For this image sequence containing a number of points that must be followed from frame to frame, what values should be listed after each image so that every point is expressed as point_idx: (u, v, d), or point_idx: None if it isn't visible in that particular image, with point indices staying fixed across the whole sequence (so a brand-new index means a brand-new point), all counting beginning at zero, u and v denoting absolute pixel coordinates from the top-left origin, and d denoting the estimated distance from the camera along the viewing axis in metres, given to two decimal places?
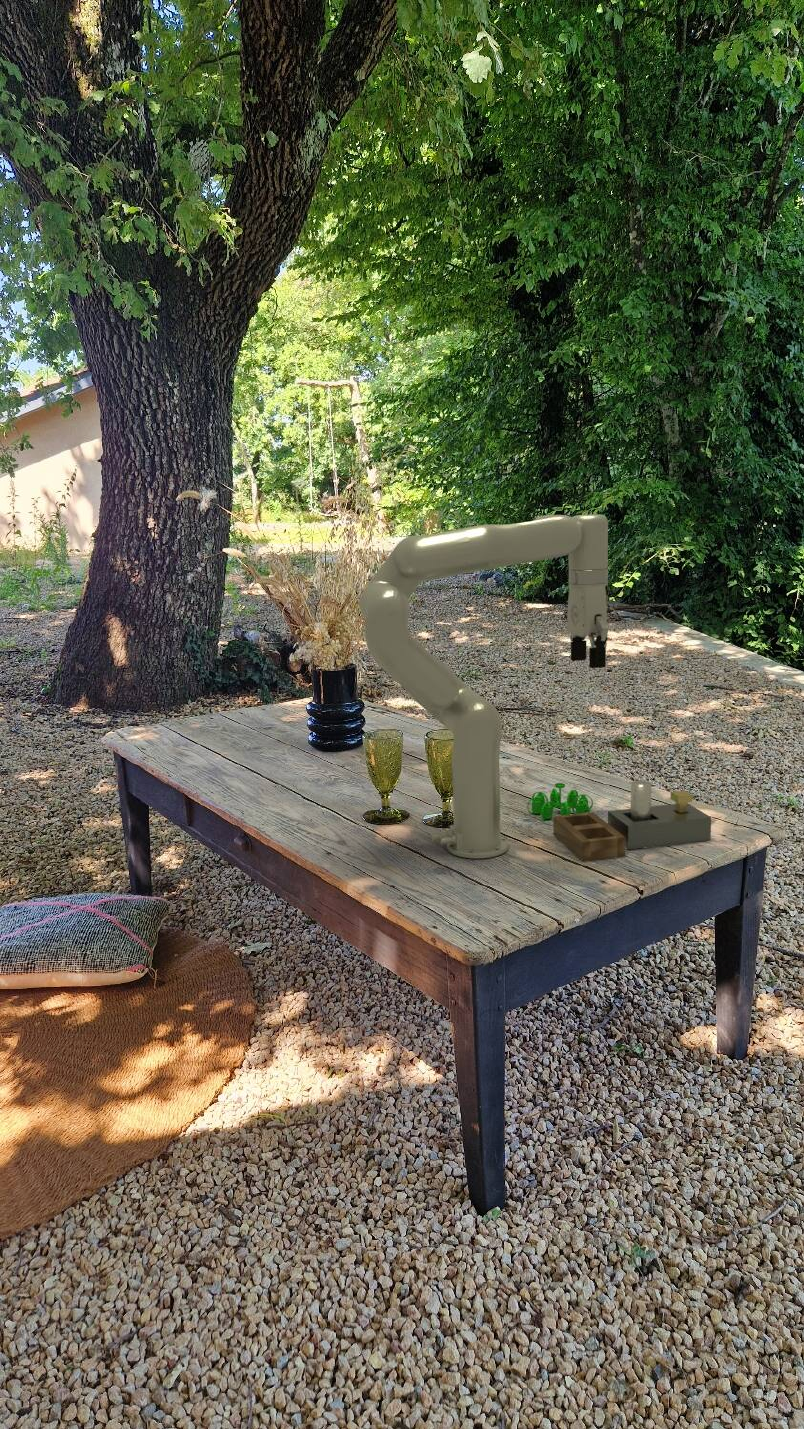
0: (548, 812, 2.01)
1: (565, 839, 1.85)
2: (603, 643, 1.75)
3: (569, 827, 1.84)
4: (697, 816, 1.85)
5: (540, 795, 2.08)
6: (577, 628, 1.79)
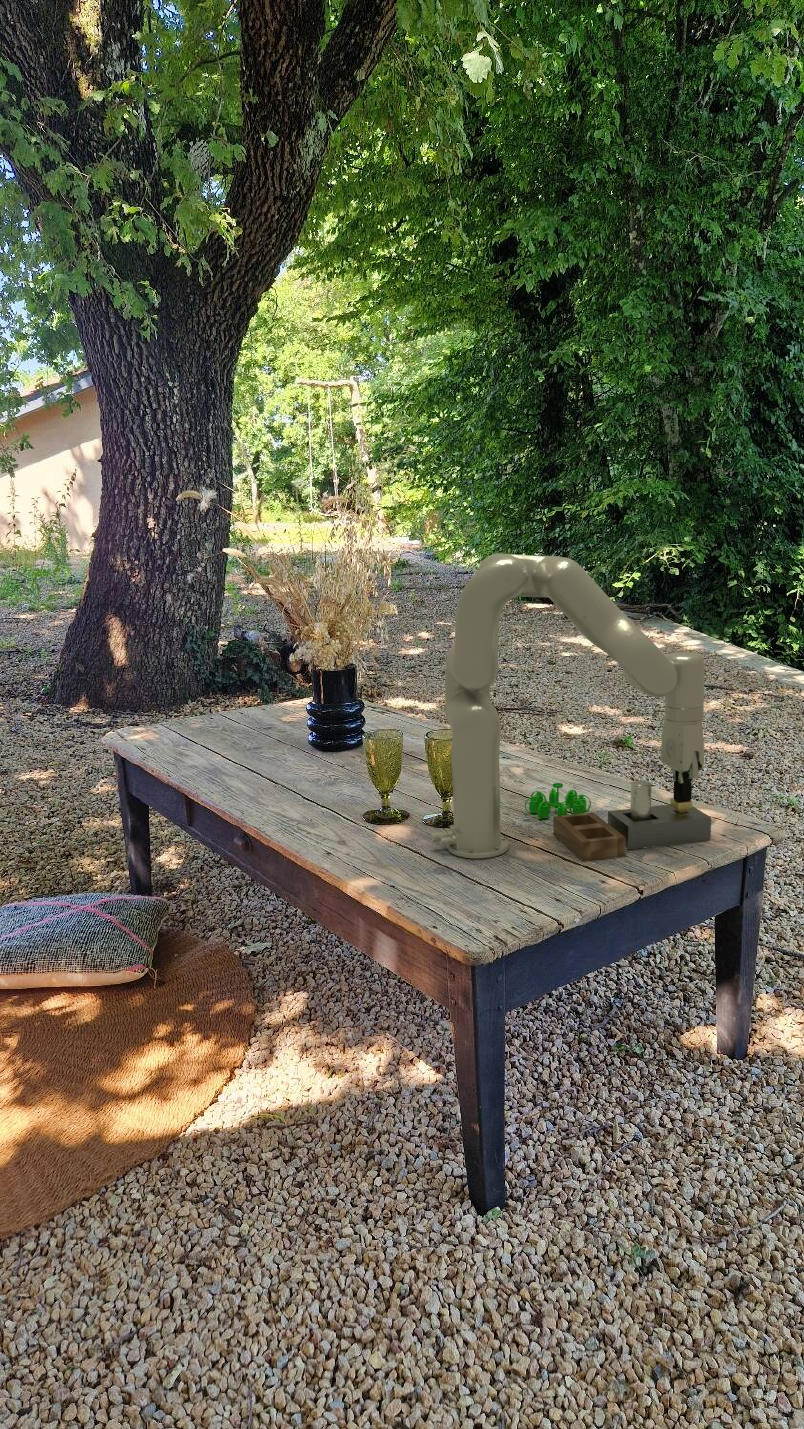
0: (544, 811, 2.01)
1: (565, 839, 1.85)
2: (690, 779, 1.84)
3: (569, 827, 1.84)
4: (697, 816, 1.85)
5: (538, 794, 2.08)
6: (674, 762, 1.84)
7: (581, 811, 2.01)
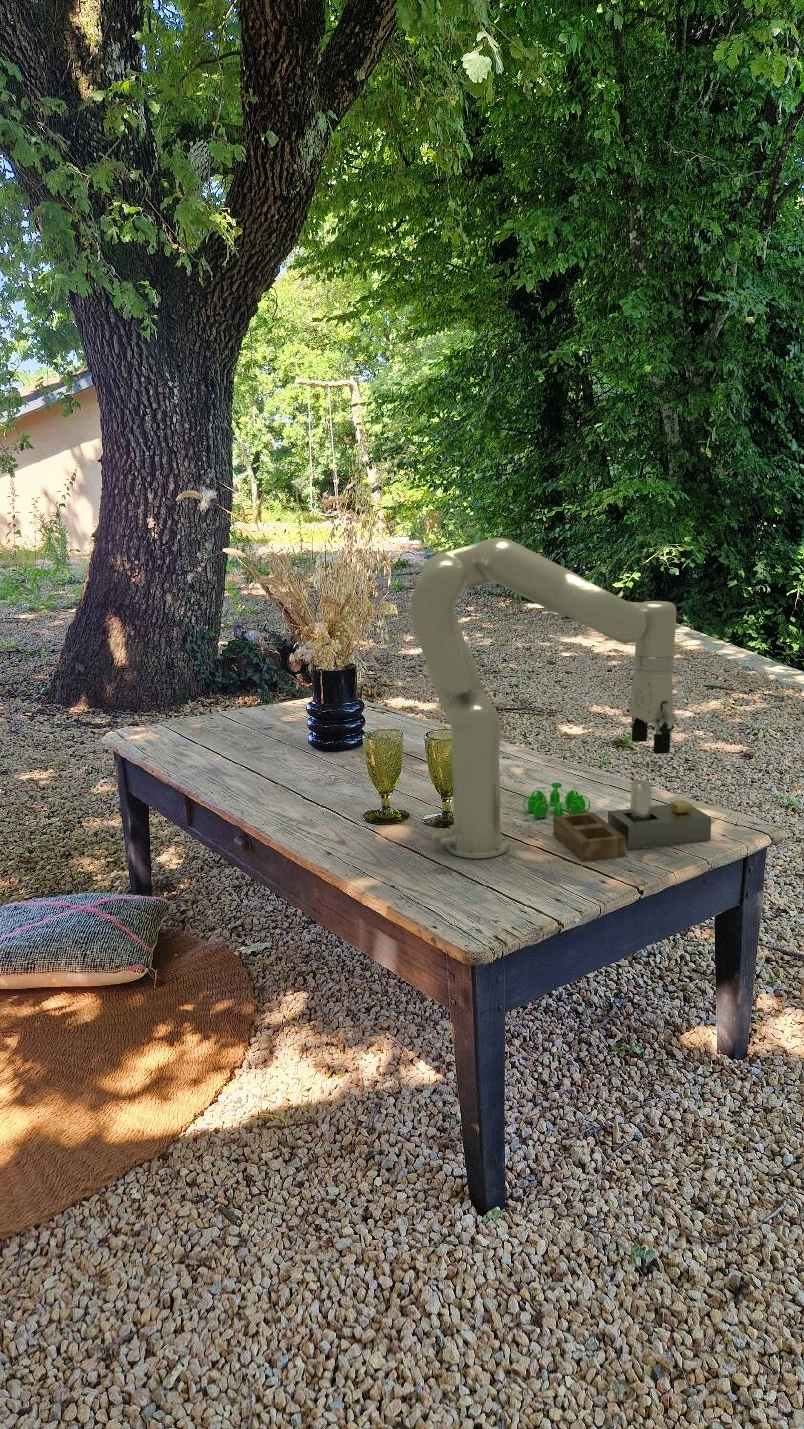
0: (541, 811, 2.01)
1: (565, 839, 1.85)
2: (669, 730, 1.76)
3: (569, 827, 1.84)
4: (697, 816, 1.85)
5: (538, 794, 2.09)
6: (642, 713, 1.80)
7: (578, 812, 2.01)
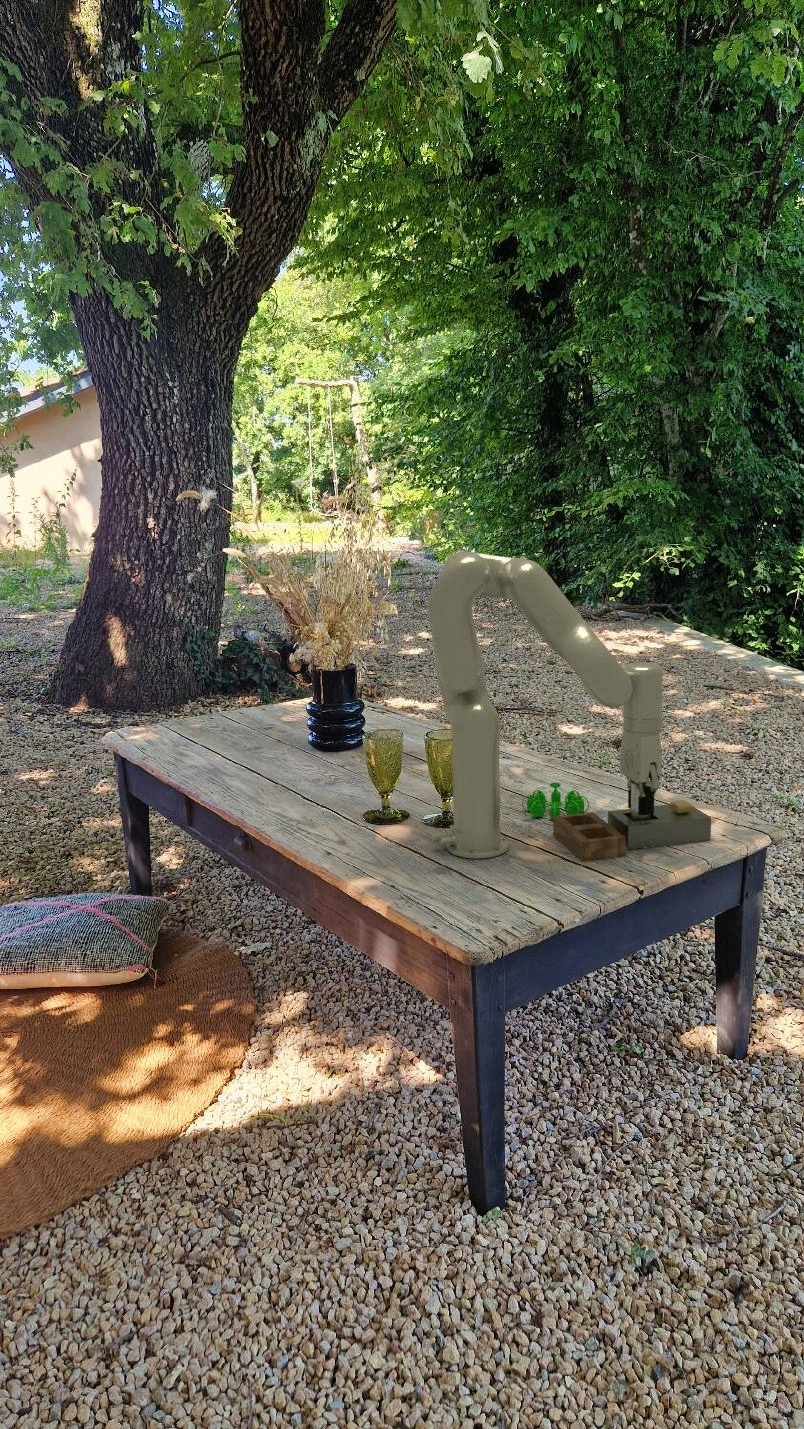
0: (538, 810, 2.02)
1: (565, 839, 1.85)
2: (652, 793, 1.81)
3: (569, 827, 1.84)
4: (697, 816, 1.85)
5: (539, 793, 2.09)
6: (631, 773, 1.82)
7: (575, 812, 2.01)
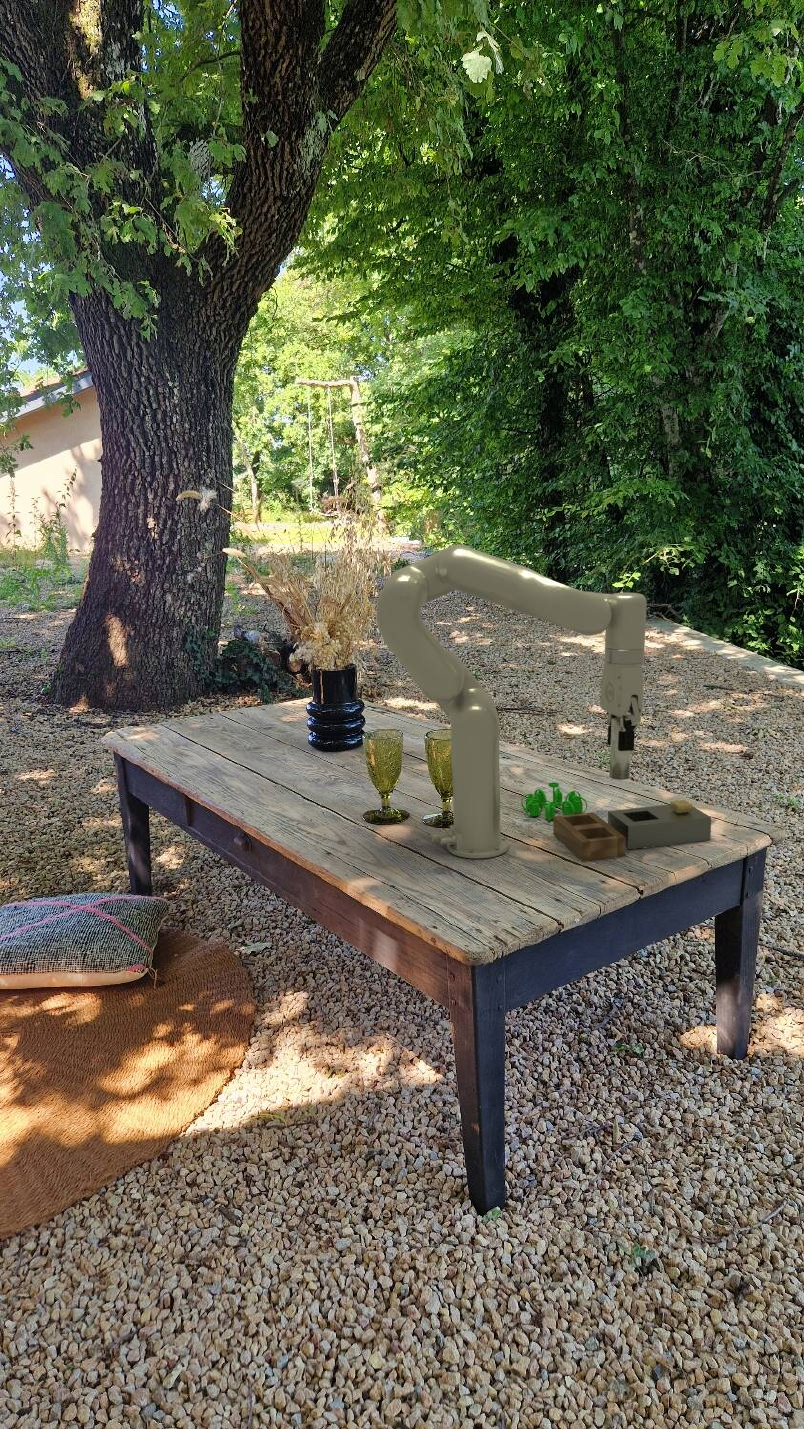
0: (533, 809, 2.03)
1: (565, 839, 1.85)
2: (633, 727, 1.75)
3: (569, 827, 1.84)
4: (697, 816, 1.85)
5: (539, 793, 2.10)
6: (612, 707, 1.77)
7: (571, 812, 2.01)
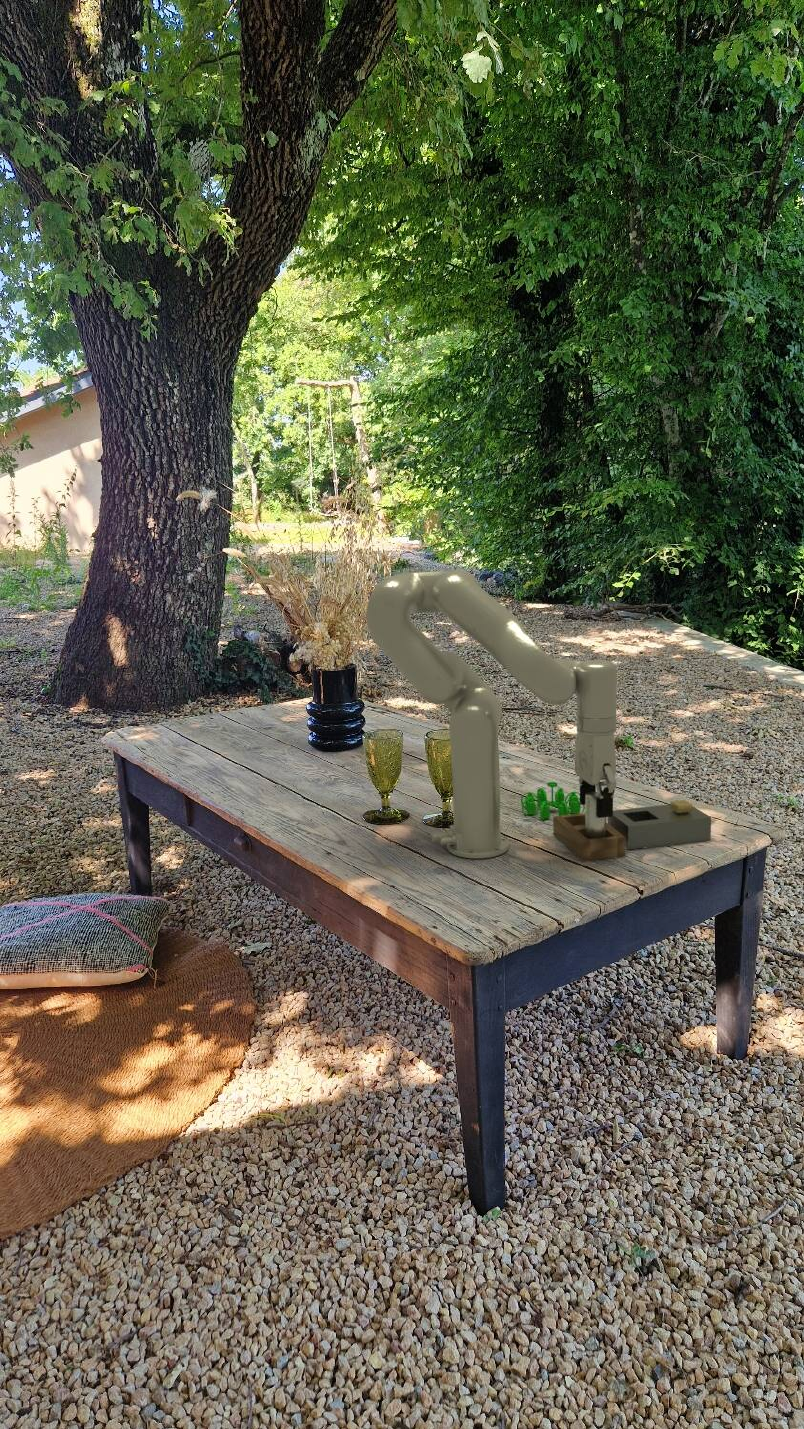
0: (529, 808, 2.04)
1: (565, 839, 1.85)
2: (610, 794, 1.73)
3: (569, 827, 1.84)
4: (697, 816, 1.85)
5: (541, 792, 2.11)
6: (585, 774, 1.76)
7: (565, 813, 2.01)
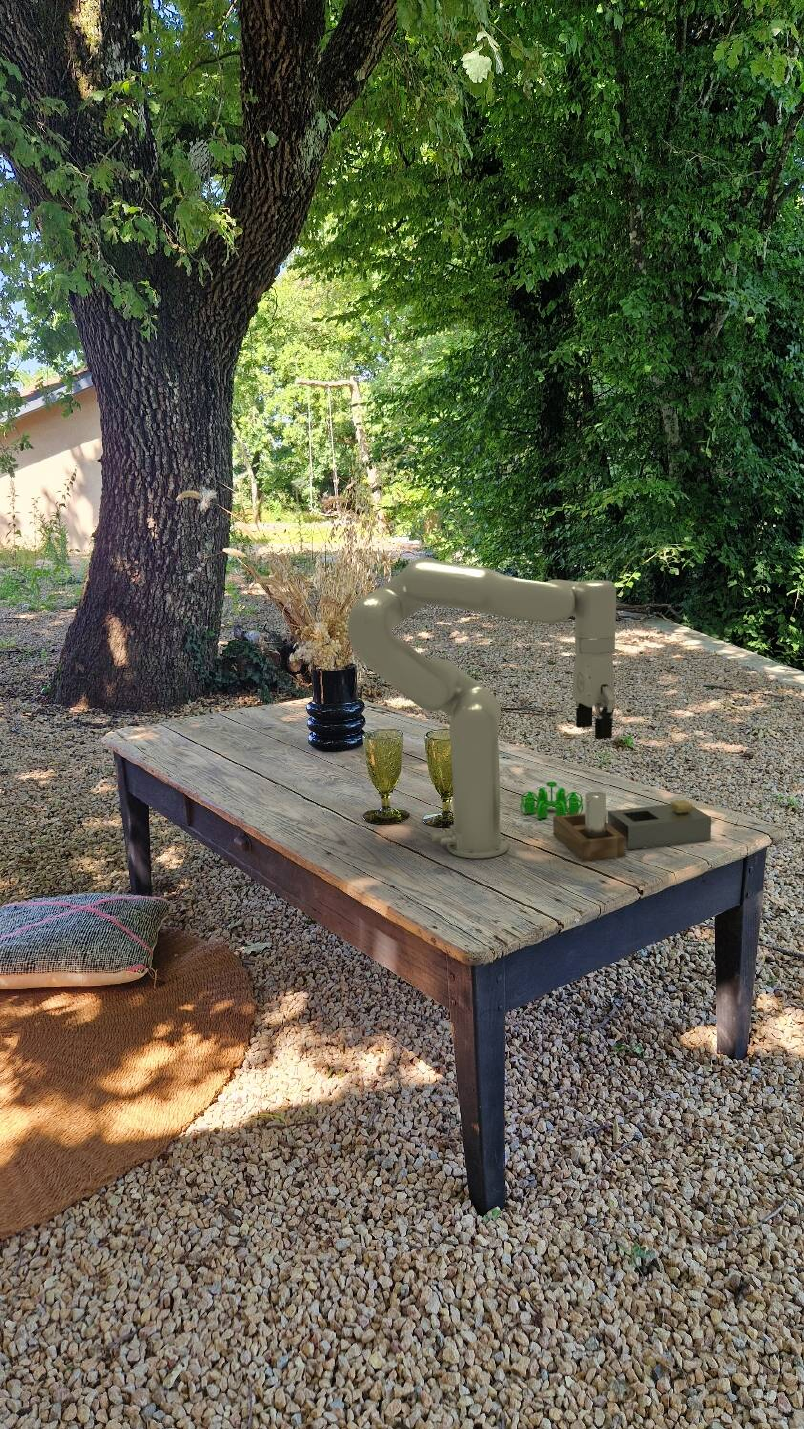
0: (527, 807, 2.05)
1: (565, 839, 1.85)
2: (609, 714, 1.69)
3: (569, 827, 1.84)
4: (697, 816, 1.85)
5: (542, 791, 2.11)
6: (583, 697, 1.73)
7: (562, 813, 2.01)
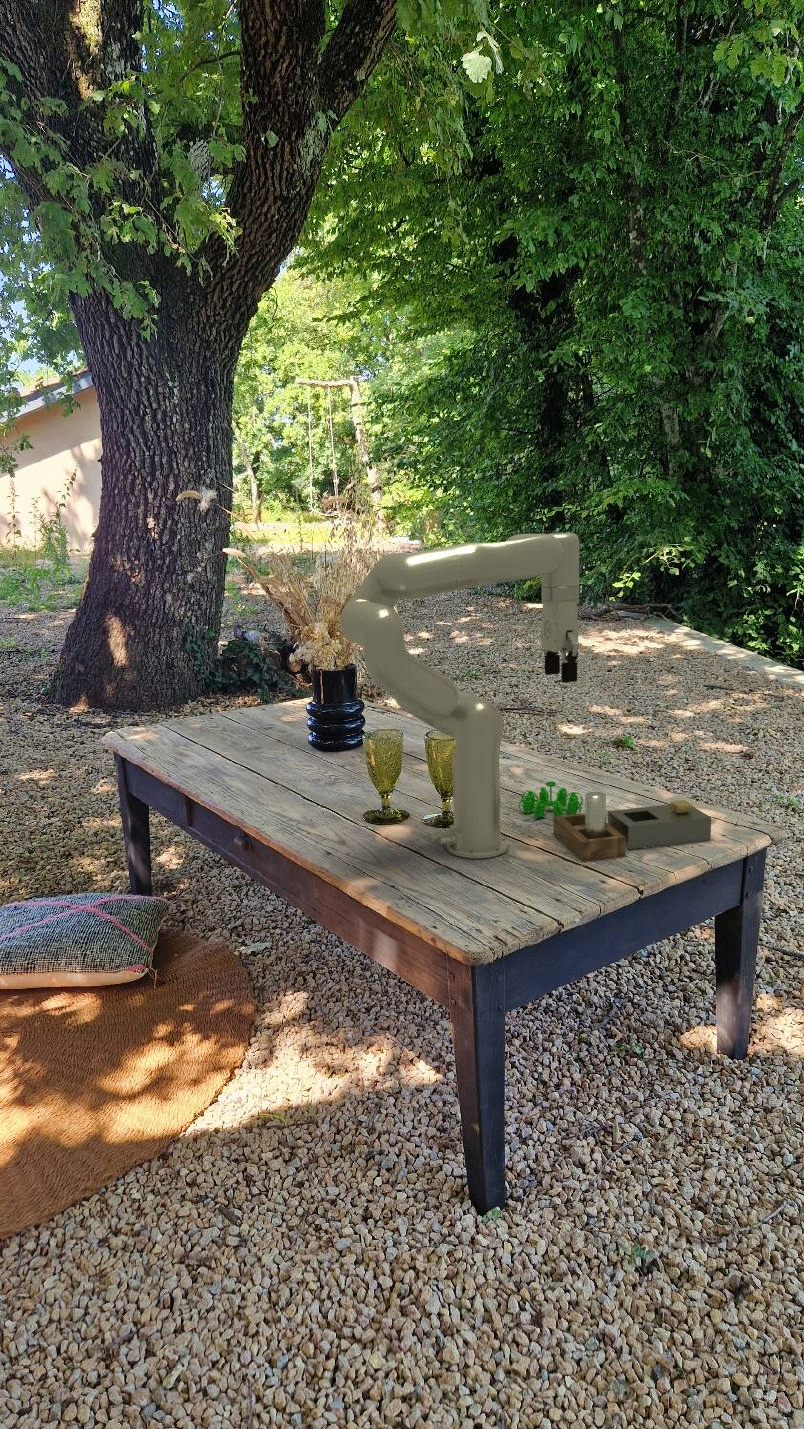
0: (526, 806, 2.05)
1: (565, 839, 1.85)
2: (574, 658, 1.80)
3: (569, 827, 1.84)
4: (697, 816, 1.85)
5: (542, 791, 2.11)
6: (550, 643, 1.84)
7: (559, 813, 2.01)
